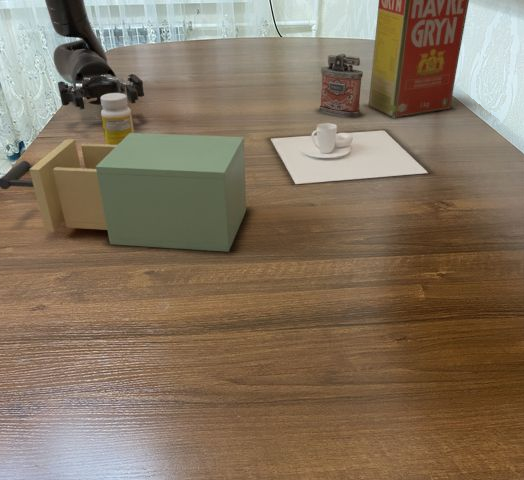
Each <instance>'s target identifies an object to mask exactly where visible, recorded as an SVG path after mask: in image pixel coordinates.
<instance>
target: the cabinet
mask: <svg viewBox="0 0 524 480" xmlns="http://www.w3.org/2000/svg"><path fill="white" fill-rule="evenodd" d="M245 163H246V161H245V137H244V136H227V135H226V136H225V135H224V136H222V135H199V134H198V135H197V134H174V133H173V134H171V133H170V134H169V133H143V132H134V133H129V134H128V135H127V136H126V137H125V138H124V139H123V140H122V141H121V142H120V143H119V144H118V145H117V146H116V147H115V148H114V149H113V150H112V151H111V152H110V153H109V154H108V155H107V156H106V157H105V158H104V159H103V160H102V161H101V162H100V163H99V164H98V165H97V166H96V171H97V176H98V182H99V187H100V193H101V198H102V203H103V209H104V214H105V219H106V225H107V230H106V231H107V234H108V235H107V236H108V240H109V244H110V245H114V246H115V245H116V246H131V247H133V246H134V247H146V248H147V247H149V248H164V249H179V250H195V251H210V252H211V251H212V252H225V253H229V252H230V249H231V247H232V245H233V243H234V240H235V238H236V237H237V234H238V231H239V229H240V226H241V224H242V221H243V219H244V217H245V214H246V212H247V194H246V189H247V188H246V165H245Z"/></svg>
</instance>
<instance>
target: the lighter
mask: <svg viewBox="0 0 524 480" xmlns="http://www.w3.org/2000/svg"><path fill="white" fill-rule="evenodd" d="M327 64H328V66H322V67H321V68H320V74H321V86H320V87H321V88H320V89H321V91H320V105H319V112H320V113H323V114H327V115H331V116H336V117H342V118H351V119H352V118H359V117H360V113H361V112H360V101H361V100H360V99H361V89H362V88H361V86H362V78H363V73H364V72H363V71H362V70H359V69H354V66H355V67H358V66H360V64H361V59H360V57H359V56H352V55H346V54H345V53H339V54H337V55H335V54H328V55H327Z"/></svg>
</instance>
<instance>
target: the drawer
mask: <svg viewBox="0 0 524 480" xmlns="http://www.w3.org/2000/svg"><path fill="white" fill-rule="evenodd" d="M76 142H77V141H76V139H75V138H73V139H71V138H66V139H65V140H63V141H62V142H61V143H60V144H59V145H57V146H56V147H55V148H53V149H52V150H51V151H50V152H49V153H47V154H46V155H45V156H44V157H42V158H41V159H40V160H38V161H37V163H35V164H31V163H30V162H29V161H27V160H22V161H21V162H20V163H18V164H17V165H15V166H14V167H13V168H11V169H10V170H9V171H8V172H6V173H5V174H4V175H2V176H1V177H0V188H1V189H2V190H8V189H9V188H11V187H23V188H33V189H34V191H35V192H34V193H35V196H36V201H37V205H38V208H39V212H40V217H41V219H42V224H43V227H44V231H45V232H50V233H51V232H53V233H54V232H55V231H57V229H59V227H60V226H61V225H62V224H63V223H64V225H65V227H66V228H70V229H84V230H102V231H108V230H107V225H106V219H105V214H104V209H103V203H102V198H101V193H100V187H99V182H98V176H97V171H96V166H97V165H98V164H99V163H100V162H101V161H102V160H103V159H104V158H105V157H106V156H107V155H108V154H109V153H110V152H111V151H112V150H113V149H114V148H115V147H116V146H117V145H111V144H106V143H87V142H85V143H84V142H83V143H82V144H81V145H80V147H81V153H82V157H83V158H82V159H83V164H84V168H83V167H81V166H82V165H81V162H80V158H79V151H78V148H77V143H76ZM28 173H30V177H31V180H25V179H22V178H23V177H24V176H25V175H26V174H28Z"/></svg>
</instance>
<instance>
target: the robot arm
mask: <svg viewBox="0 0 524 480" xmlns="http://www.w3.org/2000/svg"><path fill="white" fill-rule="evenodd" d="M44 2H45V5H46V9H47V12H48V15H49V18H50V22H51V26H52V28H53V30H54V32H55V33H56V34H57V35H59V36H61V37H64V38H77V39H79V40H74V41H70V42H66V43H62V44H59V45H57V47H56V48H55V49H54V51H53V56H52V57H53V58H52V59H53V63H54V67H55V70H56V71H57V73H58V75H59V76H60V77H61V78H62V79H63V80H64V81H61V80H60V81H59V82H57V87H58V92H59V97H60V102H61V105H62V106H65V107H66V106H69V105H70V103H72V105H73V106H74V107H75V108H79V109H80V110H85V105H87V104H91V105H96V106H99V105H100V106H102V105H101V96H103V95H105V94H109V93H122V94H125V95H126V97H127V101H128V102H129V103H130V104H132V105H133V104H136V101H138V100H139V98H143V97H144V96H145V92H144V91H145V90H144V83H143V79H141V78H140V77H138V76H137V75H136V74H133V73H131V74H128V76H127V79H124V78H123V77H119V76H117V75H116V74H115V71H114V70H113V69H112V68H111V66H110V65H109V64H108V57H107V54H106V52H105V49H104V47H103V46H102V44H101V42H100V40H99V39H98V36H97V35H96V34H95V31H94V29H93V27H92V25H91V22H90V19H89V17H88V13H87V9H86V8H87V7H86V4H85V1H84V0H44ZM66 82H67V83H66ZM69 84H70V85H69Z"/></svg>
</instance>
